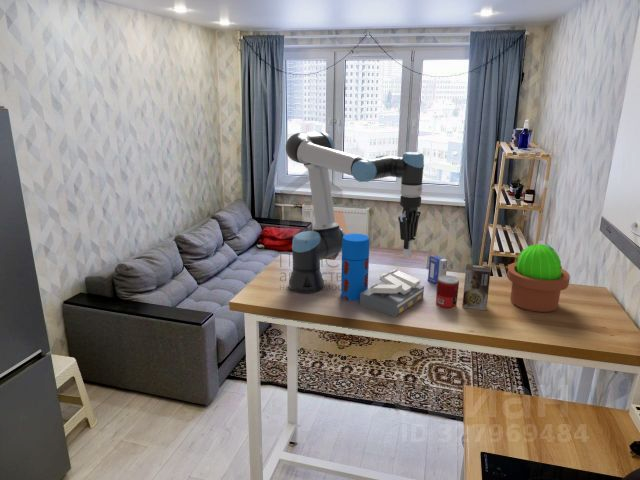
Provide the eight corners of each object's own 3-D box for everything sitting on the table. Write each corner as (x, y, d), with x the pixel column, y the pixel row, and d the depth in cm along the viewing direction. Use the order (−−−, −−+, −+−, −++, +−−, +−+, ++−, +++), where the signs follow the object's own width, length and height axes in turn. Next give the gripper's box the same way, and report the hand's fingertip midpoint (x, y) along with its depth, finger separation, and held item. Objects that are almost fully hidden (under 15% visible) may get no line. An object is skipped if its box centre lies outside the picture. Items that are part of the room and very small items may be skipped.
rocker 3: (388, 276, 190) (389, 271, 189) (394, 273, 193) (395, 268, 193) (413, 287, 184) (415, 282, 183) (419, 284, 187) (420, 279, 186)
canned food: (457, 309, 179) (459, 283, 175) (435, 307, 180) (438, 281, 177) (455, 301, 186) (458, 276, 183) (435, 299, 187) (437, 274, 184)
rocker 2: (379, 279, 185) (380, 274, 184) (385, 276, 188) (386, 271, 187) (404, 294, 179) (406, 289, 178) (410, 291, 182) (411, 286, 181)
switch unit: (359, 304, 183) (360, 289, 181) (389, 287, 199) (390, 273, 197) (395, 316, 173) (396, 300, 171) (423, 297, 189) (424, 282, 187)
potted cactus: (504, 310, 179) (512, 248, 171) (503, 288, 198) (511, 232, 191) (567, 319, 172) (579, 255, 164) (560, 296, 191) (570, 238, 184)
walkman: (427, 280, 207) (429, 255, 203) (432, 279, 208) (434, 254, 204) (440, 286, 200) (443, 260, 197) (445, 285, 202) (447, 259, 198)
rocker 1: (370, 292, 180) (369, 286, 180) (376, 289, 184) (375, 283, 183) (396, 293, 172) (395, 287, 172) (402, 289, 176) (401, 283, 175)
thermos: (335, 295, 191) (336, 237, 184) (352, 287, 199) (353, 231, 191) (356, 303, 184) (358, 243, 177) (372, 295, 192) (375, 237, 184)
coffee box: (486, 304, 184) (491, 266, 179) (486, 311, 178) (491, 271, 173) (462, 301, 186) (466, 263, 182) (461, 307, 181) (465, 269, 176)
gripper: (411, 199, 162) (407, 263, 169) (428, 193, 172) (424, 254, 179) (392, 196, 167) (389, 258, 174) (410, 191, 176) (406, 250, 184)
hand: (407, 256), depth 176 cm, fingers closed
